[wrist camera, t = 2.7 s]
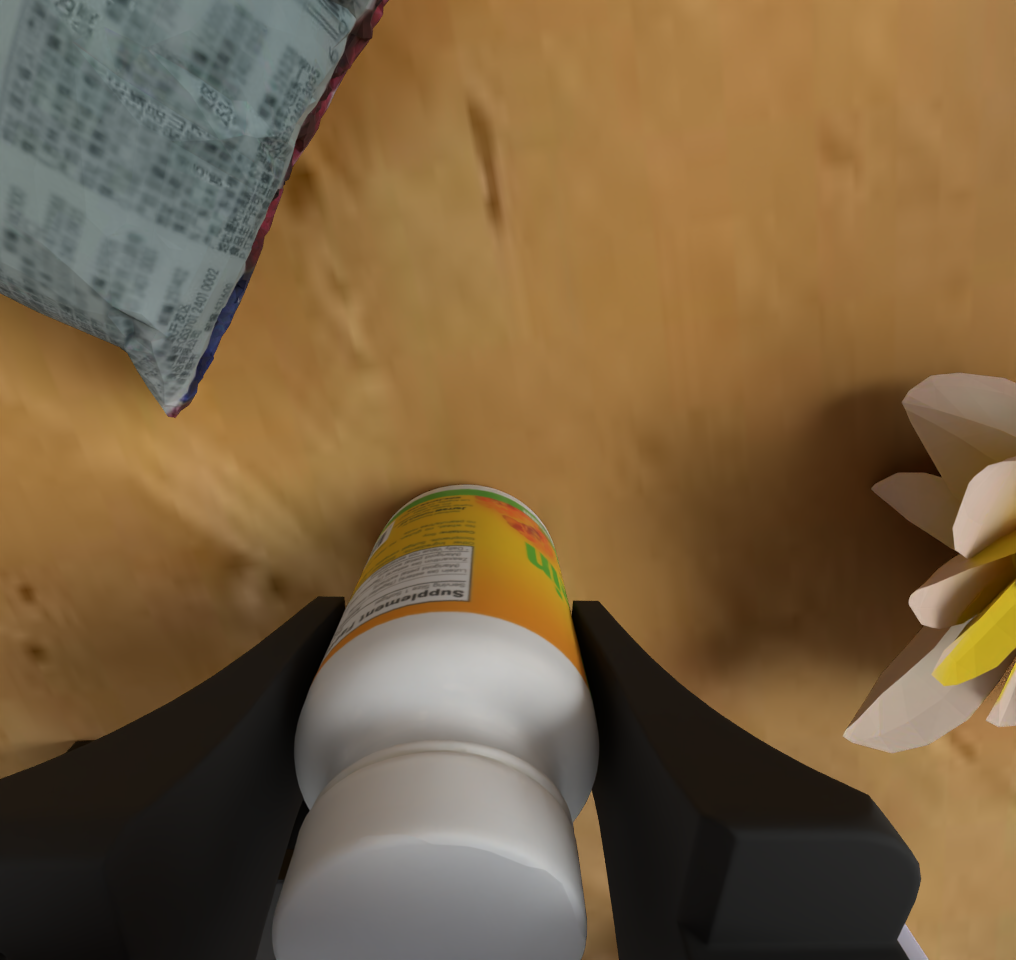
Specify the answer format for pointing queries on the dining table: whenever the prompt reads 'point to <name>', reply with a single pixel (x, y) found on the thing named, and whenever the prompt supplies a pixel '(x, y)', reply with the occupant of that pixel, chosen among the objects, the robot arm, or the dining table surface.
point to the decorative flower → (954, 567)
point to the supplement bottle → (445, 750)
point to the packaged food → (157, 159)
